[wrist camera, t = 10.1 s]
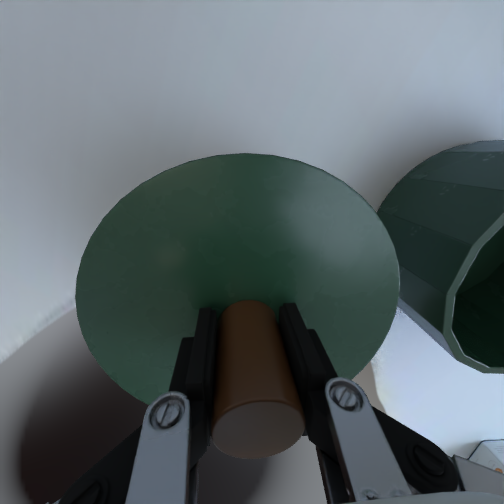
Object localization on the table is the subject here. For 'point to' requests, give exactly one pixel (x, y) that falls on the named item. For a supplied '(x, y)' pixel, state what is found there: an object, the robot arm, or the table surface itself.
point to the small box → (490, 455)
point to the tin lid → (237, 286)
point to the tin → (453, 250)
